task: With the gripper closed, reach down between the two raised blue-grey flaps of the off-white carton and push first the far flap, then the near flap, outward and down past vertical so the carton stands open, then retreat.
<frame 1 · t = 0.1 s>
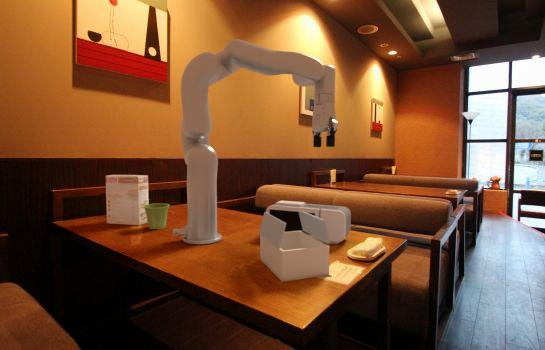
hand: (323, 146, 119), 31 cm above the table, tool pointing down, fingers open, 9 cm apart
plant pot: (157, 228, 122), on the table
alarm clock: (307, 238, 109), on the table
coffeecake box: (128, 223, 130), on the table
carton: (292, 266, 81), on the table
far flap: (312, 225, 82), point 10 cm above the table, hinge at 75.0°
near flap: (271, 229, 79), point 10 cm above the table, hinge at 75.0°
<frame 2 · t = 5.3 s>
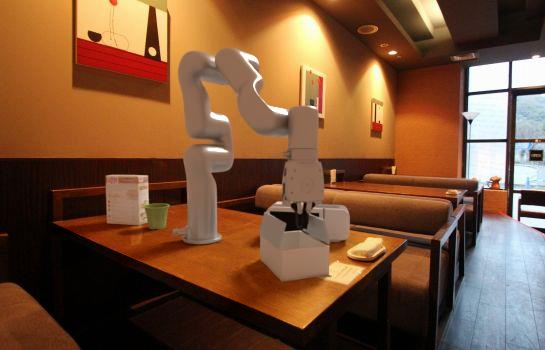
hand: (301, 228, 81), 10 cm above the table, tool pointing down, fingers closed
far flap: (313, 225, 82), point 10 cm above the table, hinge at 75.3°, touching gripper
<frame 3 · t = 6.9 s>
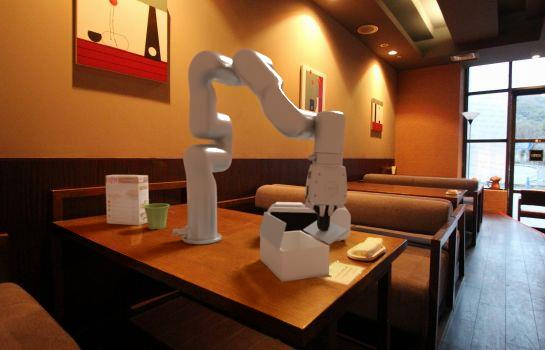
hand: (322, 229, 84), 9 cm above the table, tool pointing down, fingers closed
far flap: (324, 230, 84), point 9 cm above the table, hinge at 152.2°, touching gripper
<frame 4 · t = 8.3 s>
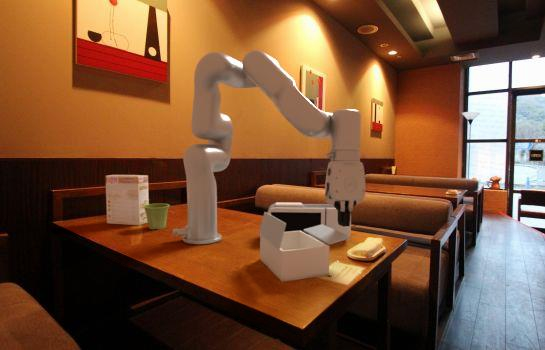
hand: (343, 225, 86), 10 cm above the table, tool pointing down, fingers closed
far flap: (325, 233, 84), point 8 cm above the table, hinge at 170.3°
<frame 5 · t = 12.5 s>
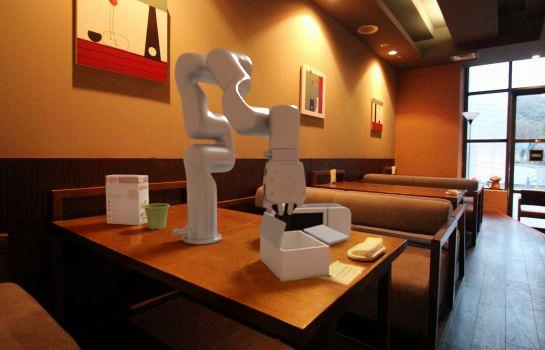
hand: (283, 229, 80), 10 cm above the table, tool pointing down, fingers closed
far flap: (325, 233, 84), point 8 cm above the table, hinge at 171.2°
near flap: (271, 229, 79), point 10 cm above the table, hinge at 75.6°, touching gripper
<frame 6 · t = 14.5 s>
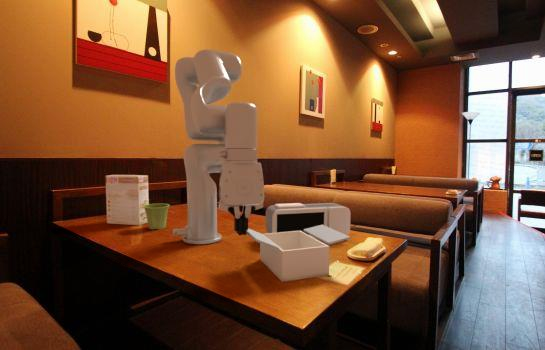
hand: (241, 233, 76), 10 cm above the table, tool pointing down, fingers closed
near flap: (257, 236, 77), point 9 cm above the table, hinge at 154.9°
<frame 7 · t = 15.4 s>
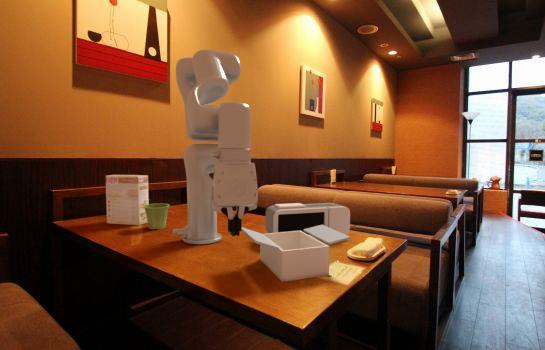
hand: (234, 234, 75), 10 cm above the table, tool pointing down, fingers closed
near flap: (257, 237, 77), point 8 cm above the table, hinge at 158.6°
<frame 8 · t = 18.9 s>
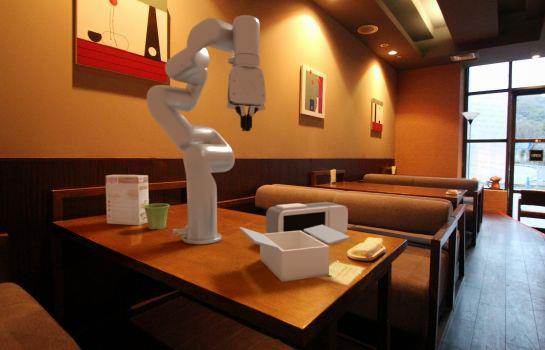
hand: (246, 130, 90), 35 cm above the table, tool pointing down, fingers closed
near flap: (257, 237, 77), point 8 cm above the table, hinge at 159.4°
at the end: far flap at +171° (first picture: +75°); near flap at +159° (first picture: +75°) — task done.
